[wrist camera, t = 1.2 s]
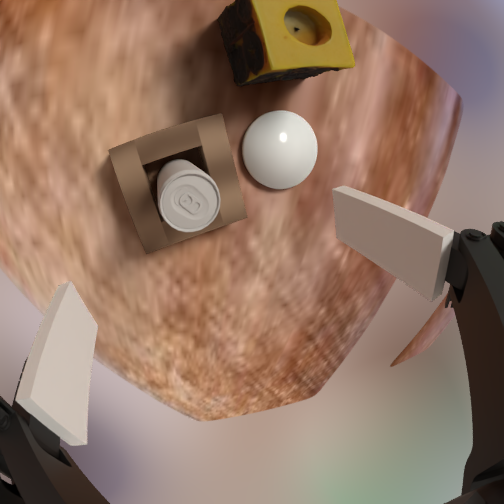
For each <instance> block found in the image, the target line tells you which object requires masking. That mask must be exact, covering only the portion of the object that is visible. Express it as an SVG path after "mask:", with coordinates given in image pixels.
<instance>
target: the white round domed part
mask: <svg viewBox="0 0 504 504" xmlns="http://www.w3.org/2000/svg"><path fill="white" fill-rule="evenodd" d="M242 158H243V161H244V165H245V167H246V169H247V170H248V172H249V174H250V175H251V176H252V177H253V178H254V179H255V180H256V181H258V182H259V183H261V184H263V185H265V186H267V187H270V188H274V189H286V188H290V187H293V186H295V185H297V184H299V183H300V182H302V181H303V180H304V179H305V178H306V177H307V176H308V175H309V174H310V172H311V171H312V169H313V167H314V164H315V162H316V158H317V141H316V137H315V134H314V132H313V130H312V128H311V127H310V125H309V124H308V123H307V122H306V121H305V120H304V119H303V118H302V117H300V116H299V115H297V114H295V113H292V112H289V111H272V112H268V113H265V114H263V115H261V116H259V117H258V118H257V119H255V120H254V121H253V122H252V123H251V124H250V126H249V127H248V129H247V131H246V132H245V135H244V138H243V142H242Z"/></svg>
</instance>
